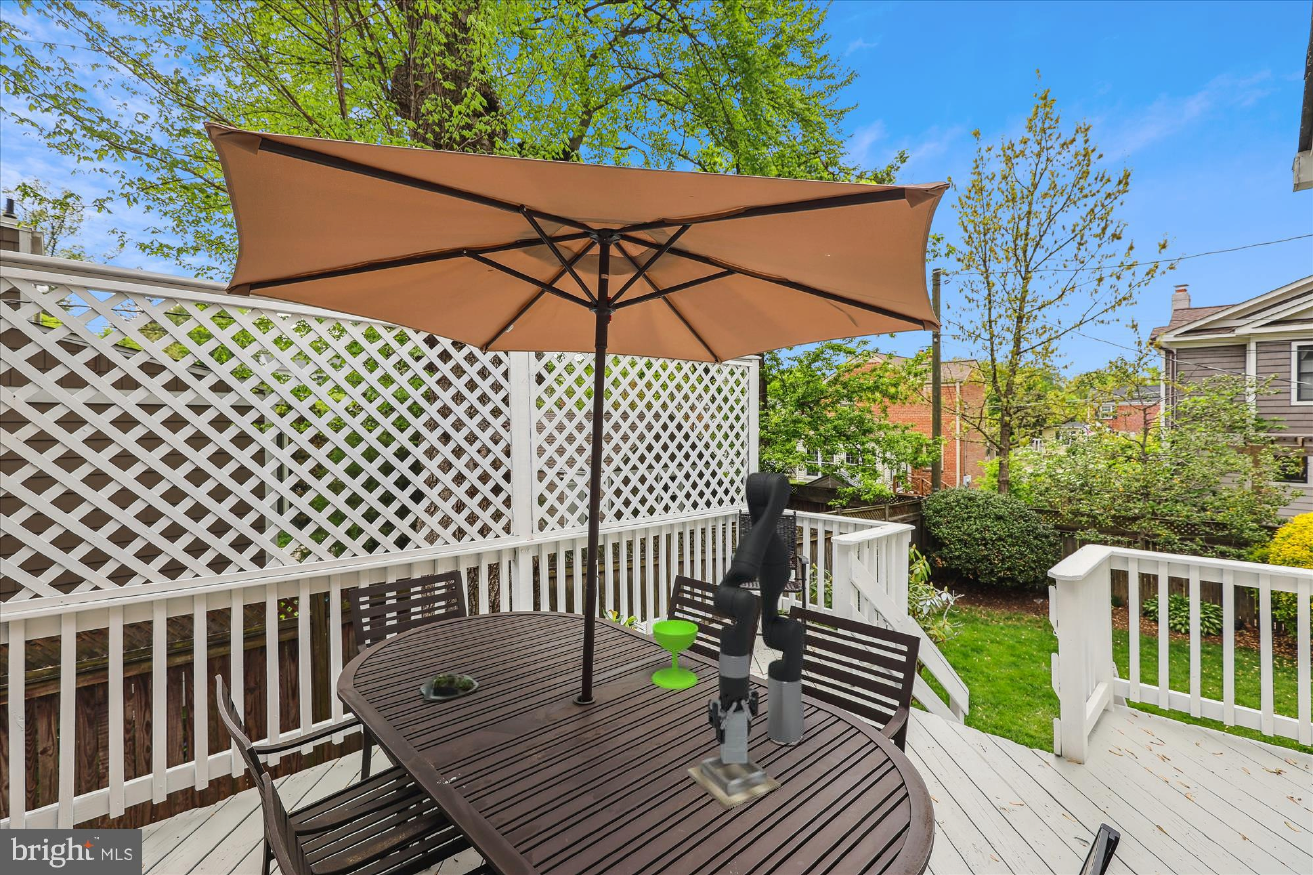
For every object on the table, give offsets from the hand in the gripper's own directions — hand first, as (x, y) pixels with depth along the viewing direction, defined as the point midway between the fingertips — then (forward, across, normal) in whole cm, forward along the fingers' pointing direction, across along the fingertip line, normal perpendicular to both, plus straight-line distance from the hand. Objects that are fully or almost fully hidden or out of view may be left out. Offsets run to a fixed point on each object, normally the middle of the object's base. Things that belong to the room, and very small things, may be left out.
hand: (733, 738), depth 135 cm
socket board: (+10, 0, 0) cm, 10 cm away
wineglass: (+10, -19, -57) cm, 61 cm away
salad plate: (+11, +51, -85) cm, 100 cm away
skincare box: (+5, 0, 0) cm, 5 cm away
